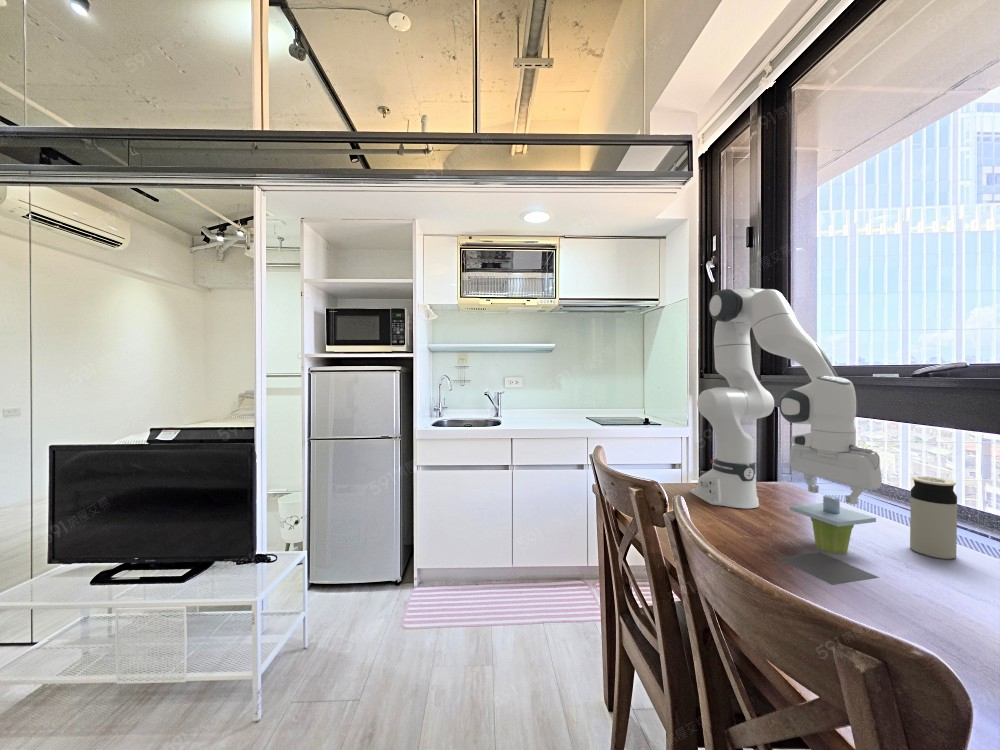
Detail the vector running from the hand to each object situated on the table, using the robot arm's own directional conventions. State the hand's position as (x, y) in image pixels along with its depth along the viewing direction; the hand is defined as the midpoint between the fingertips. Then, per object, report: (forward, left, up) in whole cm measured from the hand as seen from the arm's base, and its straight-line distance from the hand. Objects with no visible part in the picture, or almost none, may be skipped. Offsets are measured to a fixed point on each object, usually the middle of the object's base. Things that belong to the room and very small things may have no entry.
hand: (831, 497), depth 105 cm
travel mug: (+7, +23, -13) cm, 28 cm away
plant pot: (0, 0, -13) cm, 13 cm away
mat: (+8, -12, -13) cm, 19 cm away
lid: (0, 0, -5) cm, 4 cm away
